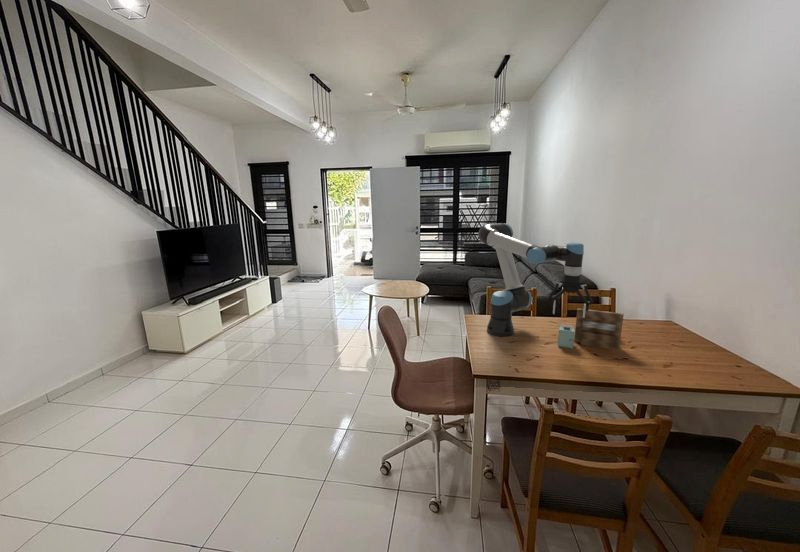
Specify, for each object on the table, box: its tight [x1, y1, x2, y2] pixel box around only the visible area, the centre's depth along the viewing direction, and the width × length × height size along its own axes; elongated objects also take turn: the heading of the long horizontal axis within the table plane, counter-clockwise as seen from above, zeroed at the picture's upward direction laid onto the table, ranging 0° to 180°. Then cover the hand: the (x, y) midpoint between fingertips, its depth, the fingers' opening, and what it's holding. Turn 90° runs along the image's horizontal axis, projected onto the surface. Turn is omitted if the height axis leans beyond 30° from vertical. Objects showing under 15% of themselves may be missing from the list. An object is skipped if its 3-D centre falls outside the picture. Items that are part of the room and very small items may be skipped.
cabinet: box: [557, 324, 575, 350], centre depth 165 cm, size 7×9×10 cm
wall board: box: [574, 307, 624, 351], centre depth 164 cm, size 20×8×18 cm, turn 61°
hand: (568, 315), depth 162 cm, fingers open, 13 cm apart
